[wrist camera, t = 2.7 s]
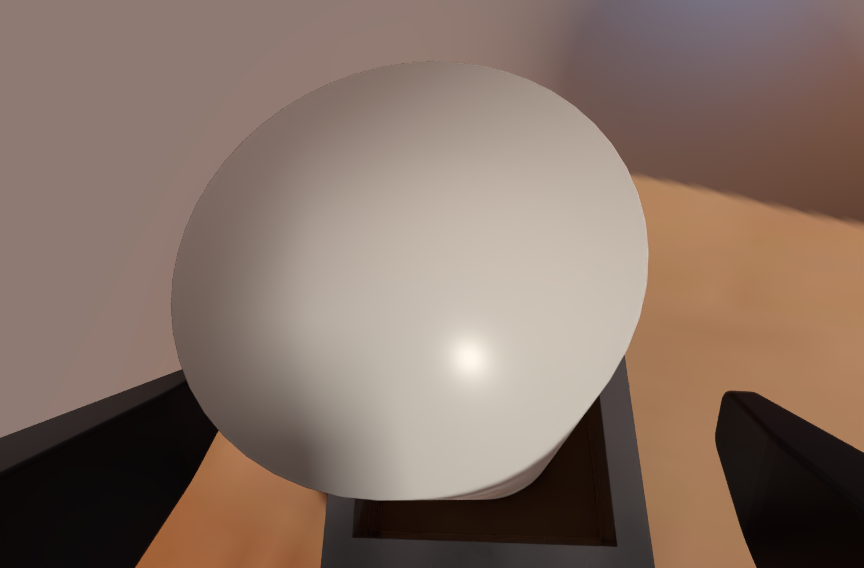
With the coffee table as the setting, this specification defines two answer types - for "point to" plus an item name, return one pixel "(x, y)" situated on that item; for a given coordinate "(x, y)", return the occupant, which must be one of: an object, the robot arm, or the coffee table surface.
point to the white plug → (411, 283)
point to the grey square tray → (506, 554)
